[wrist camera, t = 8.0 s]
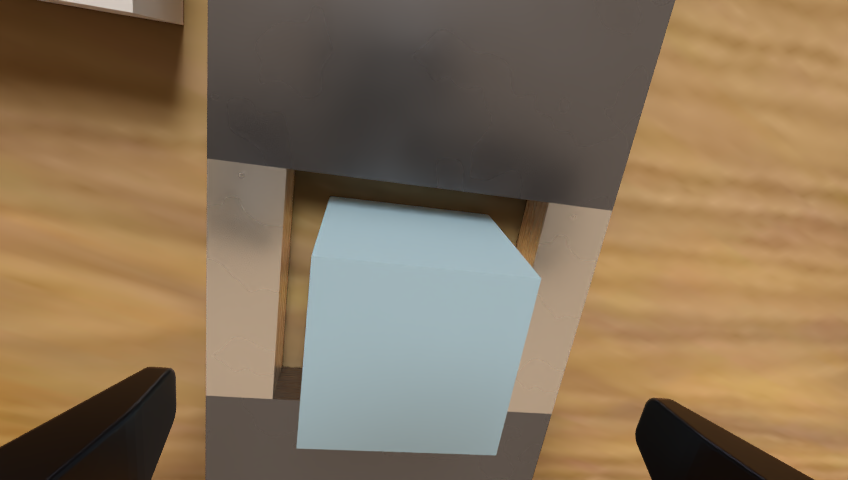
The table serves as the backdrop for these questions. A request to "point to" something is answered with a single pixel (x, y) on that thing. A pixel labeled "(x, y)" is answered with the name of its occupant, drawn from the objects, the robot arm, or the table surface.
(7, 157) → the table surface
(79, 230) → the table surface
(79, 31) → the table surface
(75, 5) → the stand
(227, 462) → the plate
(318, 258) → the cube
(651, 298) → the table surface
